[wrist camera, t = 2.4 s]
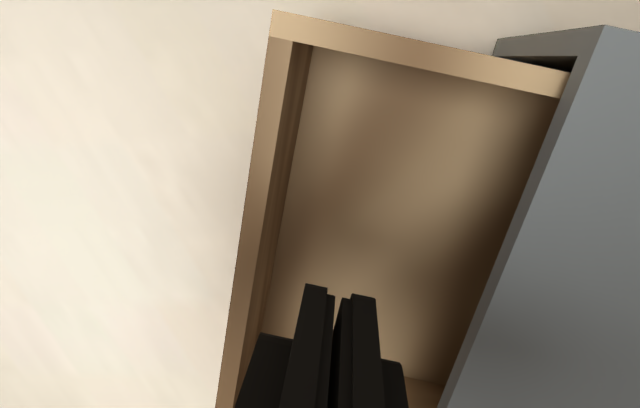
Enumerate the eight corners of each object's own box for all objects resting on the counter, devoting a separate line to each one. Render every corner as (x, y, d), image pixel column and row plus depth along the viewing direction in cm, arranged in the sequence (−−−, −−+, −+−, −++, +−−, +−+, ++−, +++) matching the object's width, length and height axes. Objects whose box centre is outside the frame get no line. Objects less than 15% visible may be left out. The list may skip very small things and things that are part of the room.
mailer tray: (839, 139, 14) (1084, 182, 9) (644, 433, 19) (739, 560, 14) (302, 24, 15) (272, 9, 10) (248, 341, 19) (211, 434, 15)
